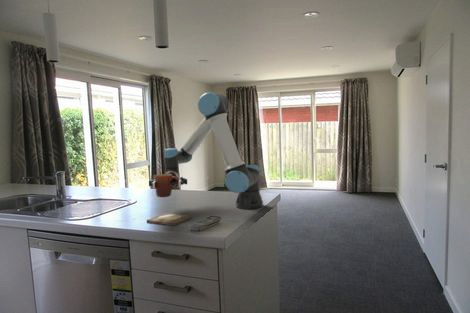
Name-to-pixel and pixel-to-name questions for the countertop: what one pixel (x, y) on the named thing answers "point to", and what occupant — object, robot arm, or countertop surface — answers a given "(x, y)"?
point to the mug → (164, 184)
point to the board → (169, 219)
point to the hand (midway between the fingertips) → (166, 184)
